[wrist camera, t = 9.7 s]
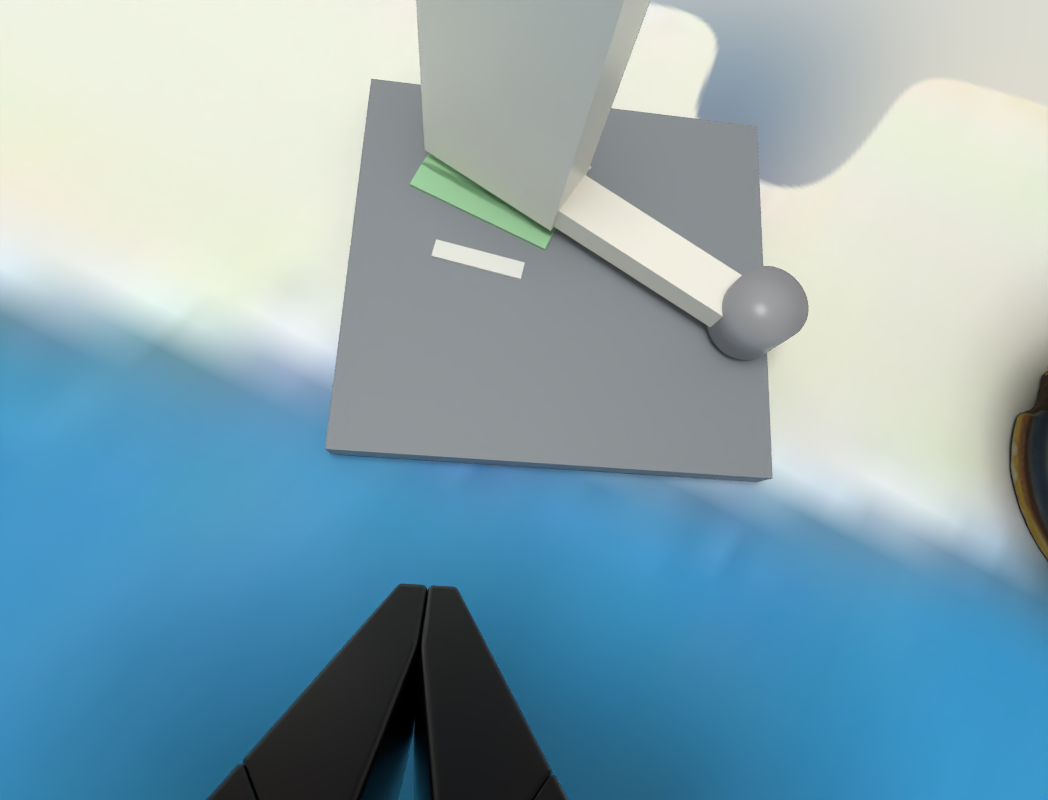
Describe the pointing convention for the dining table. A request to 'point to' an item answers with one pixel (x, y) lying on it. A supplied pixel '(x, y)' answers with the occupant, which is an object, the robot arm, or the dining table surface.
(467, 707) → the robot arm
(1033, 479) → the grey ornate vase
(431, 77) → the dial crank handle
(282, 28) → the dining table surface
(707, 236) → the dial board
